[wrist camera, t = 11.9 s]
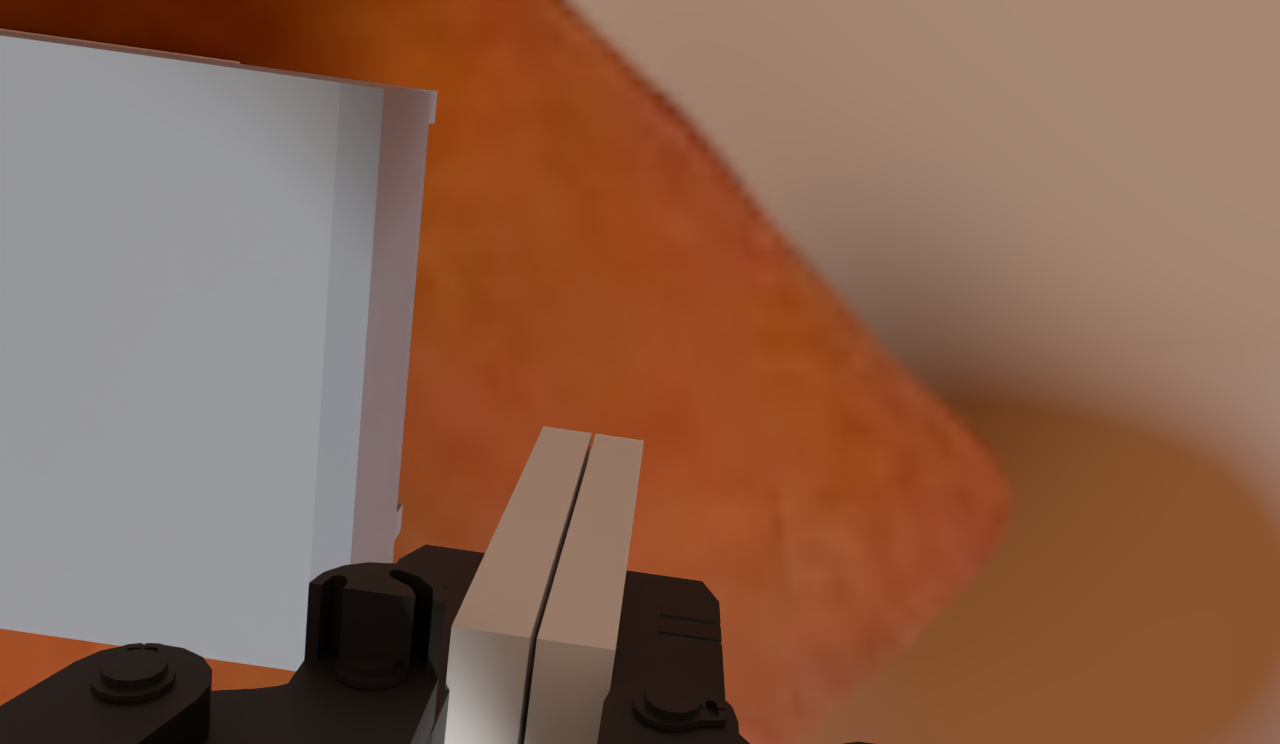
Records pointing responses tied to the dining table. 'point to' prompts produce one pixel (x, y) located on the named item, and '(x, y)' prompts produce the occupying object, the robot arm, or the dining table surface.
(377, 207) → the lid
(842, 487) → the dining table surface
